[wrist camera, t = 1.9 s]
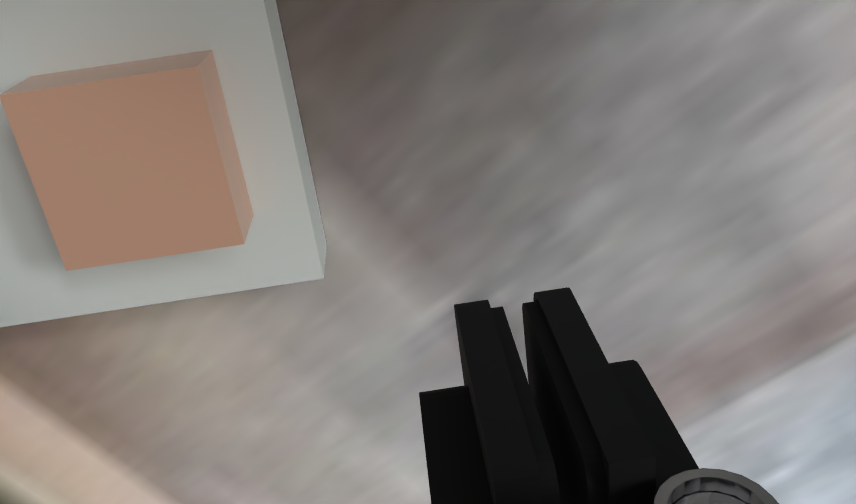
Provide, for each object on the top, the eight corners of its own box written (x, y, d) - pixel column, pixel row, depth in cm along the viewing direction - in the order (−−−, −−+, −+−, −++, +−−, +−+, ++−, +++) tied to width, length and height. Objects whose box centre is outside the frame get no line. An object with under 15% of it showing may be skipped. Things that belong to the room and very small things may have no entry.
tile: (31, 76, 25) (-2, 95, 23) (212, 49, 25) (197, 65, 23) (90, 239, 28) (66, 270, 26) (253, 214, 28) (244, 244, 26)
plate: (-96, -11, 26) (-148, 1, 24) (262, -63, 27) (251, -57, 24) (28, 289, 32) (-3, 327, 29) (326, 245, 32) (323, 278, 29)
